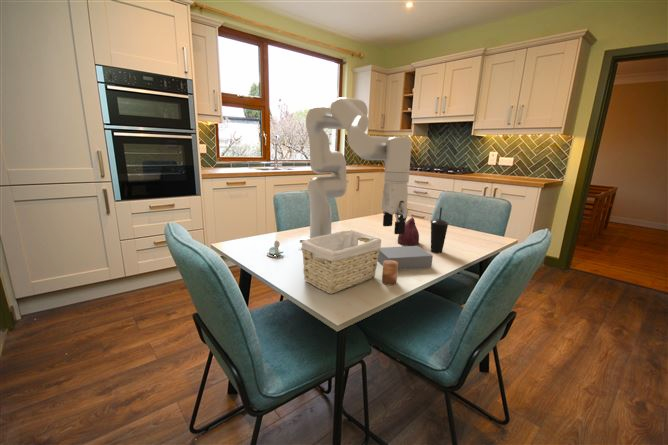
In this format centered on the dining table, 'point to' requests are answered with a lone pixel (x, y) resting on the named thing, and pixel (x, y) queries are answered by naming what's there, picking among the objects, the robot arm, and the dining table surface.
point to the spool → (389, 272)
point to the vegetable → (409, 234)
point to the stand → (406, 257)
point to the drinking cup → (438, 234)
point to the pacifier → (274, 250)
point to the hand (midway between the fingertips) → (393, 229)
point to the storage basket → (340, 259)
